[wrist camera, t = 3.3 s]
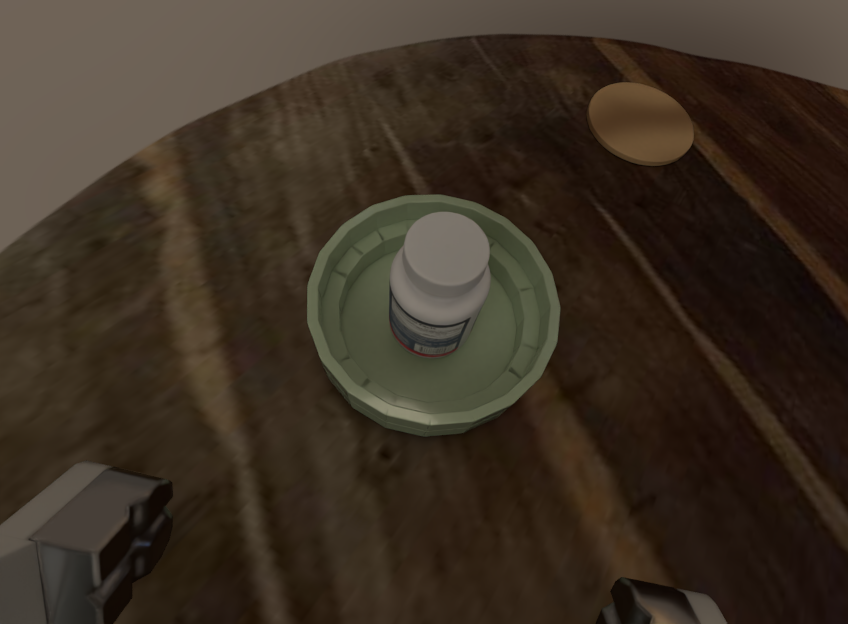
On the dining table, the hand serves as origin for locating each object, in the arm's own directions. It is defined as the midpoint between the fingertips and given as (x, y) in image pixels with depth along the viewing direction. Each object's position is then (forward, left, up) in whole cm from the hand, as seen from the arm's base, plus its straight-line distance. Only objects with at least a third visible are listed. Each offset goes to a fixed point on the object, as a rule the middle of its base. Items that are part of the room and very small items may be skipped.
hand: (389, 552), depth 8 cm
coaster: (+20, -31, -17) cm, 41 cm away
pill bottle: (+10, -7, -17) cm, 21 cm away
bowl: (+10, -7, -17) cm, 21 cm away
